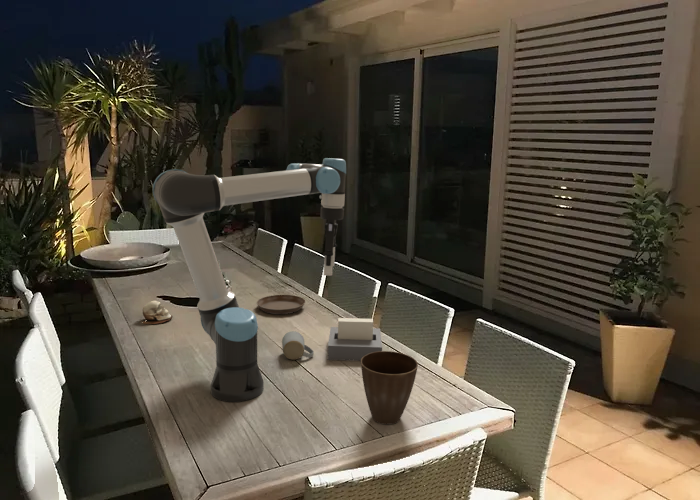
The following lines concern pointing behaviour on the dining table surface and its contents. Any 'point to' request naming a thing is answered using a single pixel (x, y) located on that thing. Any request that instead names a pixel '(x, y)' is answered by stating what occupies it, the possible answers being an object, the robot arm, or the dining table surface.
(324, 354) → the dining table surface
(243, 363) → the robot arm
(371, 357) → the plant pot
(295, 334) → the ceramic mug
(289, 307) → the plant saucer
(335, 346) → the plate
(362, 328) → the bar
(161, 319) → the skull
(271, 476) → the dining table surface
